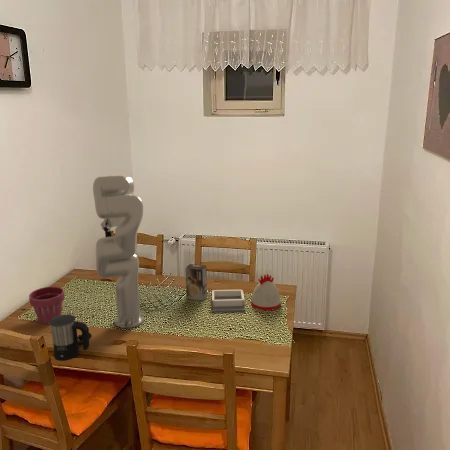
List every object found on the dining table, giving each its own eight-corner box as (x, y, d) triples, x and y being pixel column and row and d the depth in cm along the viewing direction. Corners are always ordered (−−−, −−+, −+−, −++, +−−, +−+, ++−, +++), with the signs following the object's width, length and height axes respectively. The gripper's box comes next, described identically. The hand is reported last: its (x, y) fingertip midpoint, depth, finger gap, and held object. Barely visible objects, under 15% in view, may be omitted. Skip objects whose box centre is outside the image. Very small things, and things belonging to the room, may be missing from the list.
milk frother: (52, 363, 165) (48, 327, 161) (55, 342, 180) (51, 308, 176) (92, 357, 169) (89, 321, 165) (92, 336, 184) (89, 303, 180)
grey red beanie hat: (246, 301, 215) (246, 272, 211) (270, 295, 221) (270, 267, 217) (261, 312, 203) (261, 282, 199) (286, 306, 210) (287, 276, 206)
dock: (245, 311, 204) (245, 303, 203) (212, 312, 204) (212, 304, 203) (242, 293, 224) (242, 286, 223) (212, 294, 223) (212, 286, 222)
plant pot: (36, 330, 189) (32, 302, 186) (29, 317, 201) (26, 291, 197) (70, 321, 197) (67, 294, 194) (62, 309, 208) (59, 283, 205)
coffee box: (207, 295, 222) (207, 265, 217) (203, 300, 216) (202, 269, 212) (190, 293, 224) (189, 263, 220) (185, 298, 218) (184, 268, 214)
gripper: (106, 206, 204) (109, 242, 209) (130, 199, 219) (133, 233, 223) (93, 204, 208) (97, 240, 212) (119, 198, 222) (121, 231, 227)
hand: (115, 236), depth 218 cm, fingers open, 9 cm apart
